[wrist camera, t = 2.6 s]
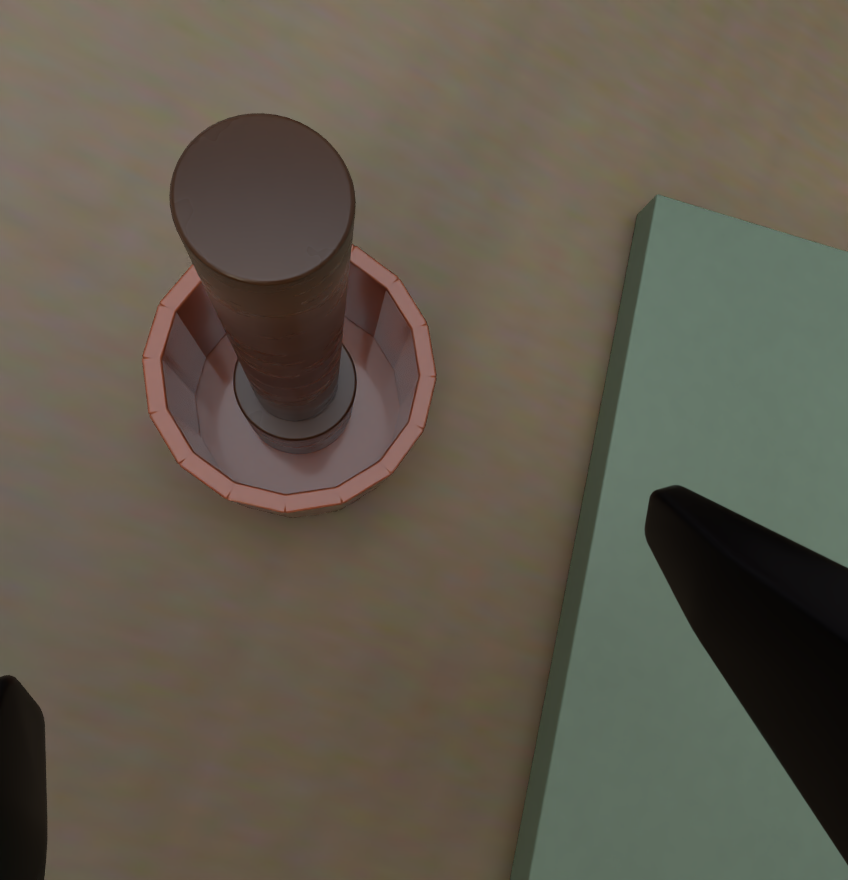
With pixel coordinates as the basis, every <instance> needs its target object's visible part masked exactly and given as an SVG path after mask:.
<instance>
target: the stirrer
mask: <svg viewBox="0 0 848 880" xmlns="http://www.w3.org/2000/svg"><path fill="white" fill-rule="evenodd" d="M355 203H356V202H355V191H354V187H353V182H352V179H351V176H350V173H349V171H348V169H347V167H346V165H345V163H344V161H343V159H342V158H341V157H340V155H339V154H338V152H337V151H336V150H335V149H334V148H333V146H332V145H331V144H330V143H329V142H328V141H327V140H326V139H325V138H323V137H322V136H321V135H320V134H319V133H317V132H316V131H314V130H313V129H311V128H310V127H308V126H306V125H304V124H302V123H300V122H298V121H295V120H292V119H290V118H287V117H283V116H278V115H272V114H245V115H239V116H235V117H231V118H227V119H225V120H222V121H220V122H218V123H216V124H214V125H212V126H210V127H208V128H207V129H206V130H204V131H203V132H201V133H200V134H199V135H198V136H197V137H196V138H195V139H194V140H193V141H192V142H191V143H190V144H189V145H188V146H187V148H186V149H185V150H184V152H183V153H182V155H181V157H180V159H179V160H178V162H177V165H176V167H175V170H174V172H173V176H172V180H171V184H170V208H171V213H172V218H173V221H174V224H175V227H176V229H177V232H178V234H179V236H180V238H181V240H182V242H183V244H184V246H185V248H186V250H187V253H188V255H189V257H190V259H191V261H192V263H193V265H194V267H195V269H196V271H197V274H198V276H199V278H200V280H201V282H202V284H203V286H204V288H205V290H206V292H207V295H208V297H209V299H210V301H211V303H212V305H213V307H214V309H215V311H216V313H217V316H218V318H219V320H220V322H221V324H222V326H223V328H224V330H225V332H226V334H227V337H228V339H229V341H230V343H231V345H232V347H233V349H234V351H235V353H236V355H237V358H238V359H237V361H236V364H235V368H234V374H233V389H234V394H235V398H236V400H237V403H238V405H239V407H240V409H241V411H242V413H243V414H244V416H245V417H246V419H247V420H248V422H249V424H250V425H251V427H252V428H253V430H254V431H255V432H256V434H257V435H258V436H259V437H260V438H261V439H262V440H263V441H264V442H265V443H267V444H268V445H270V446H271V447H273V448H275V449H278V450H280V451H283V452H287V453H293V454H305V453H311V452H315V451H318V450H321V449H323V448H325V447H327V446H328V445H330V444H331V443H332V442H334V441H335V440H336V439H337V438H338V437H339V436H340V435H341V433H342V432H343V431H344V429H345V428H346V426H347V424H348V422H349V419H350V416H351V412H352V408H353V404H354V399H355V395H356V389H357V375H356V369H355V365H354V362H353V360H352V357H351V355H350V353H349V352H348V350H347V349H346V347H345V346H344V344H343V343H342V339H343V328H344V318H345V308H346V298H347V288H348V278H349V268H350V258H351V248H352V238H353V228H354V218H355Z"/></svg>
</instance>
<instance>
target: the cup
mask: <svg viewBox="0 0 848 880" xmlns="http://www.w3.org/2000/svg"><path fill="white" fill-rule="evenodd" d="M342 343H343V344H344V346H345V347H346V349H347V350H348V352H349V353H350V355H351V357H352V360H353V362H354V365H355V369H356V375H357V389H356V395H355V399H354V404H353V408H352V412H351V416H350V419H349V422H348V424H347V426H346V428H345V429H344V431H343V432H342V433H341V435H340V436H339V437H338V438H337V439H336V440H335V441H334V442H332V443H331V444H330V445H328V446H327V447H325V448H323V449H321V450H318V451H315V452H311V453H305V454H293V453H287V452H283V451H280V450H278V449H275V448H273V447H271V446H270V445H268V444H267V443H265V442H264V441H263V440H262V439H261V438H260V437H259V436H258V435H257V434H256V432H255V431H254V430H253V428H252V427H251V425H250V424H249V422H248V420H247V419H246V417H245V416H244V414H243V413H242V411H241V409H240V407H239V405H238V403H237V400H236V398H235V394H234V389H233V374H234V368H235V364H236V361H237V359H238V358H237V355H236V353H235V351H234V349H233V347H232V345H231V343H230V341H229V339H228V337H227V334H226V332H225V330H224V328H223V326H222V324H221V322H220V320H219V318H218V316H217V313H216V311H215V309H214V307H213V305H212V303H211V301H210V299H209V297H208V295H207V292H206V290H205V288H204V286H203V284H202V282H201V280H200V278H199V276H198V274H197V271H196V269H195V267H194V265H193V264H192V265H191V267H190V268H189V269H188V270H187V271H186V272H185V274H184V275H183V276H182V277H181V278H180V279H179V280H178V282H177V283H176V284H175V285H174V286H173V287H172V289H171V290H170V291H169V292H168V293H167V294H166V296H165V297H164V298H163V299H162V300H161V301H160V304H159V305H158V307H157V310H156V314H155V317H154V320H153V323H152V326H151V330H150V333H149V336H148V339H147V343H146V346H145V349H144V352H143V355H142V356H143V358H142V364H143V373H144V381H145V389H146V398H147V406H148V413H149V414H150V418H151V420H152V421H153V423H154V425H155V426H156V428H157V430H158V431H159V433H160V435H161V436H162V438H163V440H164V442H165V443H166V445H167V447H168V448H169V450H170V452H171V453H172V455H173V457H174V458H175V460H176V462H177V463H178V464H180V467H182V468H183V469H185V470H186V471H187V472H189V473H190V474H191V475H193V476H194V477H196V478H197V479H198V480H200V481H201V482H203V483H204V484H205V485H207V486H208V487H209V488H211V489H212V490H214V491H215V492H216V493H218V494H219V495H220V496H222V497H223V498H225V499H227V500H229V501H232V502H234V503H237V504H239V505H242V506H245V507H247V508H251V509H255V510H259V511H263V512H267V513H271V514H276V515H280V516H285V517H289V518H292V517H293V518H298V517H304V516H313V515H319V514H324V513H329V512H336V511H338V510H341V509H343V508H344V507H346V506H348V505H349V504H351V503H353V502H355V501H357V500H358V499H360V498H361V497H363V496H364V495H366V494H367V493H369V492H371V491H372V490H374V489H376V488H377V487H378V486H379V485H380V484H381V483H383V482H384V481H385V480H386V479H387V478H388V477H389V476H390V475H391V474H393V472H394V471H395V470H396V468H397V467H398V466H399V464H400V463H401V462H402V460H403V459H404V457H405V456H406V455H407V453H408V452H409V451H410V449H411V448H412V446H413V445H414V444H415V442H416V441H417V440H418V438H419V437H420V435H421V434H422V433H423V431H424V428H425V426H426V422H427V417H428V413H429V409H430V404H431V400H432V396H433V392H434V387H435V383H436V375H437V374H436V368H435V363H434V357H433V351H432V345H431V339H430V333H429V327H428V325H427V322H426V320H425V318H424V317H423V315H422V314H421V312H420V310H419V309H418V307H417V306H416V304H415V302H414V301H413V299H412V297H411V296H410V294H409V293H408V291H407V289H406V288H405V286H404V285H403V283H402V281H401V280H400V279H398V277H397V276H396V275H395V274H393V273H392V272H391V271H389V270H388V269H387V268H385V267H384V266H383V265H381V264H380V263H379V262H377V261H376V260H375V259H373V258H372V257H371V256H369V255H368V254H367V253H365V252H364V251H363V250H361V249H360V248H359V247H357V246H355V245H353V244H352V248H351V258H350V268H349V278H348V288H347V298H346V308H345V318H344V328H343V339H342Z"/></svg>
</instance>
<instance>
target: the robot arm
mask: <svg viewBox="0 0 848 880" xmlns="http://www.w3.org/2000/svg"><path fill="white" fill-rule="evenodd" d="M644 531H645V537H646V541H647V543H648V545H649V547H650V549H651V551H652V553H653V555H654V557H655V559H656V561H657V563H658V565H659V567H660V569H661V571H662V573H663V575H664V576H665V578H666V580H667V582H668V584H669V586H670V588H671V590H672V592H673V594H674V596H675V598H676V600H677V602H678V604H679V606H680V608H681V609H682V611H683V613H684V615H685V617H686V619H687V621H688V623H689V624H690V626H691V628H692V630H693V631H694V633H695V635H696V636H697V638H698V639H699V641H700V643H701V644H702V646H703V647H704V649H705V650H706V652H707V653H708V655H709V656H710V658H711V659H712V661H713V662H714V664H715V665H716V667H717V668H718V670H719V671H720V673H721V674H722V676H723V677H724V679H725V680H726V682H727V683H728V685H729V686H730V688H731V690H732V691H733V693H734V694H735V696H736V697H737V699H738V700H739V702H740V703H741V705H742V706H743V708H744V709H745V711H746V712H747V714H748V715H749V717H750V718H751V720H752V721H753V723H754V724H755V726H756V727H757V729H758V730H759V732H760V733H761V735H762V736H763V738H764V739H765V741H766V742H767V744H768V745H769V747H770V749H771V750H772V752H773V753H774V755H775V756H776V758H777V759H778V761H779V762H780V764H781V765H782V767H783V768H784V770H785V771H786V773H787V774H788V776H789V777H790V779H791V780H792V782H793V783H794V785H795V786H796V788H797V789H798V791H799V792H800V794H801V795H802V797H803V798H804V800H805V801H806V803H807V804H808V806H809V807H810V809H811V811H812V812H813V814H814V815H815V817H816V818H817V820H818V821H819V823H820V824H821V826H822V827H823V829H824V830H825V832H826V833H827V835H828V836H829V838H830V839H831V841H832V842H833V844H834V845H835V847H836V848H837V850H838V851H839V853H840V854H841V856H842V857H843V859H844V860H845V862H846V863H847V865H848V568H847V567H845V566H843V565H841V564H839V563H837V562H835V561H833V560H831V559H829V558H827V557H825V556H823V555H821V554H819V553H817V552H815V551H813V550H811V549H809V548H807V547H805V546H803V545H801V544H799V543H797V542H795V541H793V540H791V539H789V538H787V537H785V536H783V535H781V534H779V533H777V532H775V531H772V530H770V529H768V528H766V527H764V526H762V525H760V524H758V523H756V522H754V521H752V520H750V519H748V518H746V517H744V516H742V515H740V514H738V513H736V512H734V511H732V510H730V509H728V508H726V507H724V506H722V505H720V504H718V503H716V502H714V501H712V500H710V499H708V498H706V497H704V496H702V495H700V494H698V493H696V492H694V491H692V490H690V489H688V488H686V487H683V486H681V485H671V486H668V487H664V488H661V489H657V490H655V491H653V492H652V494H651V495H650V498H649V503H648V509H647V515H646V521H645V528H644ZM46 852H47V791H46V752H45V722H44V717H43V713H42V711H41V709H40V707H39V705H38V704H37V703H36V702H35V701H34V699H33V698H32V697H31V696H30V694H29V693H28V692H27V691H26V689H25V688H24V687H23V686H22V685H21V683H20V682H19V681H18V680H17V679H16V678H15V677H13V676H10V675H6V676H2V677H0V880H44V876H45V866H46Z"/></svg>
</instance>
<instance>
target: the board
mask: <svg viewBox="0 0 848 880" xmlns="http://www.w3.org/2000/svg"><path fill="white" fill-rule="evenodd" d="M671 485H681V486H683V487H686V488H688V489H690V490H692V491H694V492H696V493H698V494H700V495H702V496H704V497H706V498H708V499H710V500H712V501H714V502H716V503H718V504H720V505H722V506H724V507H726V508H728V509H730V510H732V511H734V512H736V513H738V514H740V515H742V516H744V517H746V518H748V519H750V520H752V521H754V522H756V523H758V524H760V525H762V526H764V527H766V528H768V529H770V530H772V531H775V532H777V533H779V534H781V535H783V536H785V537H787V538H789V539H791V540H793V541H795V542H797V543H799V544H801V545H803V546H805V547H807V548H809V549H811V550H813V551H815V552H817V553H819V554H821V555H823V556H825V557H827V558H829V559H831V560H833V561H835V562H837V563H839V564H841V565H843V566H845V567H847V568H848V252H846V251H843V250H839V249H836V248H833V247H829V246H826V245H823V244H820V243H816V242H813V241H810V240H806V239H803V238H800V237H796V236H793V235H790V234H787V233H783V232H780V231H777V230H773V229H770V228H767V227H763V226H760V225H757V224H754V223H750V222H747V221H744V220H740V219H737V218H734V217H730V216H727V215H724V214H721V213H717V212H714V211H711V210H707V209H704V208H701V207H697V206H694V205H691V204H688V203H684V202H681V201H678V200H674V199H671V198H668V197H664V196H661V195H656V196H655V197H654V198H653V199H652V200H651V201H650V202H649V203H648V204H647V205H646V206H645V207H644V208H643V209H642V210H641V211H640V212H639V213H638V215H637V219H636V224H635V230H634V235H633V240H632V245H631V251H630V256H629V261H628V266H627V271H626V277H625V282H624V287H623V292H622V298H621V303H620V308H619V313H618V318H617V324H616V329H615V334H614V339H613V345H612V350H611V355H610V360H609V365H608V371H607V376H606V381H605V386H604V392H603V397H602V402H601V407H600V412H599V418H598V423H597V428H596V433H595V439H594V444H593V449H592V454H591V459H590V465H589V470H588V475H587V480H586V486H585V491H584V496H583V501H582V506H581V512H580V517H579V522H578V527H577V533H576V538H575V543H574V548H573V553H572V559H571V564H570V569H569V574H568V580H567V585H566V590H565V595H564V600H563V606H562V611H561V616H560V621H559V627H558V632H557V637H556V642H555V647H554V653H553V658H552V663H551V668H550V674H549V679H548V684H547V689H546V694H545V700H544V705H543V710H542V715H541V721H540V726H539V731H538V736H537V741H536V747H535V752H534V757H533V762H532V768H531V773H530V778H529V783H528V788H527V794H526V799H525V804H524V809H523V815H522V820H521V825H520V830H519V835H518V841H517V846H516V851H515V856H514V862H513V867H512V872H511V877H510V880H848V865H847V863H846V862H845V860H844V859H843V857H842V856H841V854H840V853H839V851H838V850H837V848H836V847H835V845H834V844H833V842H832V841H831V839H830V838H829V836H828V835H827V833H826V832H825V830H824V829H823V827H822V826H821V824H820V823H819V821H818V820H817V818H816V817H815V815H814V814H813V812H812V811H811V809H810V807H809V806H808V804H807V803H806V801H805V800H804V798H803V797H802V795H801V794H800V792H799V791H798V789H797V788H796V786H795V785H794V783H793V782H792V780H791V779H790V777H789V776H788V774H787V773H786V771H785V770H784V768H783V767H782V765H781V764H780V762H779V761H778V759H777V758H776V756H775V755H774V753H773V752H772V750H771V749H770V747H769V745H768V744H767V742H766V741H765V739H764V738H763V736H762V735H761V733H760V732H759V730H758V729H757V727H756V726H755V724H754V723H753V721H752V720H751V718H750V717H749V715H748V714H747V712H746V711H745V709H744V708H743V706H742V705H741V703H740V702H739V700H738V699H737V697H736V696H735V694H734V693H733V691H732V690H731V688H730V686H729V685H728V683H727V682H726V680H725V679H724V677H723V676H722V674H721V673H720V671H719V670H718V668H717V667H716V665H715V664H714V662H713V661H712V659H711V658H710V656H709V655H708V653H707V652H706V650H705V649H704V647H703V646H702V644H701V643H700V641H699V639H698V638H697V636H696V635H695V633H694V631H693V630H692V628H691V626H690V624H689V623H688V621H687V619H686V617H685V615H684V613H683V611H682V609H681V608H680V606H679V604H678V602H677V600H676V598H675V596H674V594H673V592H672V590H671V588H670V586H669V584H668V582H667V580H666V578H665V576H664V575H663V573H662V571H661V569H660V567H659V565H658V563H657V561H656V559H655V557H654V555H653V553H652V551H651V549H650V547H649V545H648V543H647V541H646V537H645V531H644V528H645V521H646V515H647V509H648V503H649V498H650V495H651V494H652V492H653V491H655V490H657V489H661V488H664V487H668V486H671Z"/></svg>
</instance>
